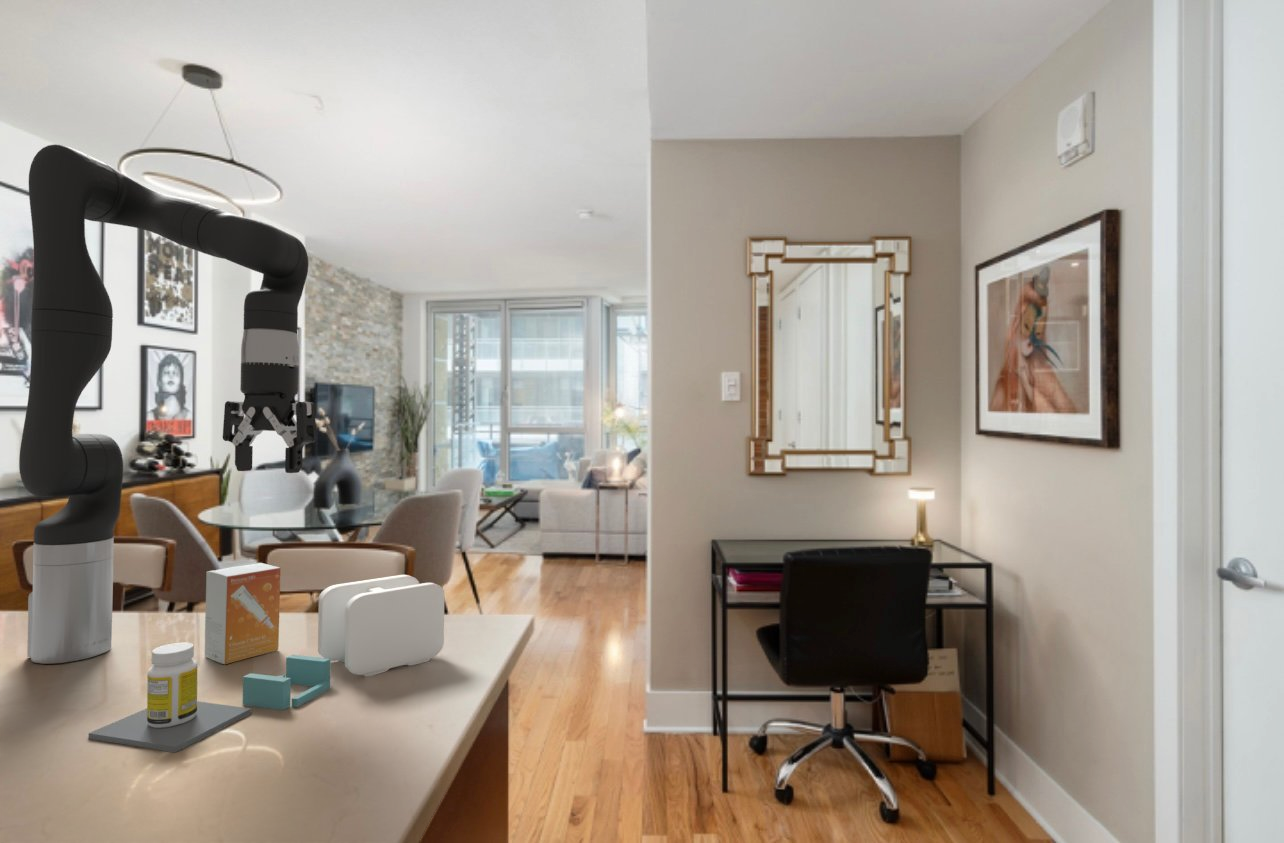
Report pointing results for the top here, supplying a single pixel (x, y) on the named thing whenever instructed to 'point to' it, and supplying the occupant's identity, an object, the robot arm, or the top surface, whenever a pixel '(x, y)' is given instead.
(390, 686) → the top surface
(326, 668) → the teal corner cradle
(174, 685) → the supplement bottle
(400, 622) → the cable organizer
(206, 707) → the mat
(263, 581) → the small box
